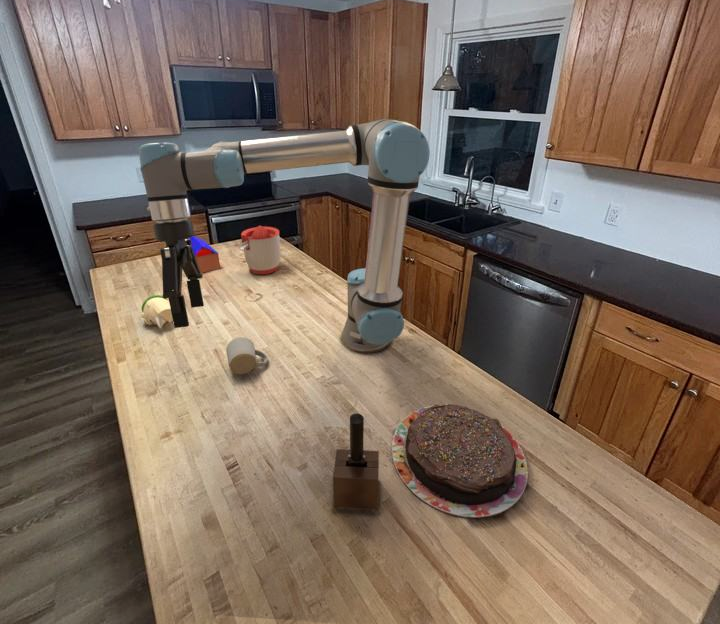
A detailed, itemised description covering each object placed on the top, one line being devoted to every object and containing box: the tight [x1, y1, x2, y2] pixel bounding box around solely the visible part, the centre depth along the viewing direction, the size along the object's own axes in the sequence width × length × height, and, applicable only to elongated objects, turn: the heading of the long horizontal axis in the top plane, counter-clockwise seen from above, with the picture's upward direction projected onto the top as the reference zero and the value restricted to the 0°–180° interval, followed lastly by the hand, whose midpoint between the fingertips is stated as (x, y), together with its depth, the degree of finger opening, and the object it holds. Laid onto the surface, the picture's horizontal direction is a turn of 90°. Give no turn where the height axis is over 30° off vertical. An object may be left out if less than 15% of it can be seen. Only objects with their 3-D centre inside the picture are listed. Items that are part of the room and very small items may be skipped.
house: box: [188, 235, 221, 274], centre depth 171 cm, size 12×20×12 cm, turn 37°
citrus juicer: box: [238, 225, 282, 276], centre depth 164 cm, size 16×17×20 cm
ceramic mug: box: [225, 336, 269, 376], centre depth 108 cm, size 11×8×8 cm
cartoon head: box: [140, 294, 173, 330], centre depth 129 cm, size 9×10×20 cm
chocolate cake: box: [391, 403, 530, 519], centre depth 81 cm, size 28×28×7 cm
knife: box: [348, 412, 365, 467], centre depth 70 cm, size 3×2×19 cm
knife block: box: [332, 448, 380, 511], centre depth 72 cm, size 8×6×9 cm
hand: (190, 316), depth 87 cm, fingers open, 13 cm apart
